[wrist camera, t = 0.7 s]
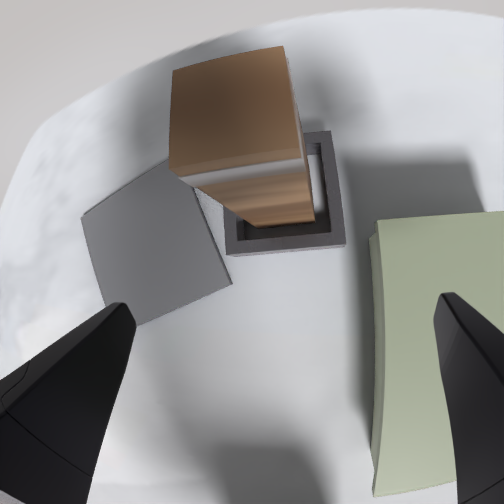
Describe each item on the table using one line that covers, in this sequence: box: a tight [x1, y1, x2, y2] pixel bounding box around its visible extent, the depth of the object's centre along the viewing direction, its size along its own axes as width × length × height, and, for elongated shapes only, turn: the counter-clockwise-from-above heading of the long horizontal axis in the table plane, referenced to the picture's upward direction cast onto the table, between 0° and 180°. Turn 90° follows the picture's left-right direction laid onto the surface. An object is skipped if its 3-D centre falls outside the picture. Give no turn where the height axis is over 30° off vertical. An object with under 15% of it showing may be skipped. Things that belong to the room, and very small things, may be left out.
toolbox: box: [369, 211, 504, 497], centre depth 15 cm, size 17×11×6 cm, turn 4°
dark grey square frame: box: [223, 131, 346, 257], centre depth 21 cm, size 8×8×2 cm
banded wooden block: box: [169, 46, 315, 229], centre depth 15 cm, size 4×4×13 cm
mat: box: [81, 159, 232, 326], centre depth 24 cm, size 11×11×1 cm
